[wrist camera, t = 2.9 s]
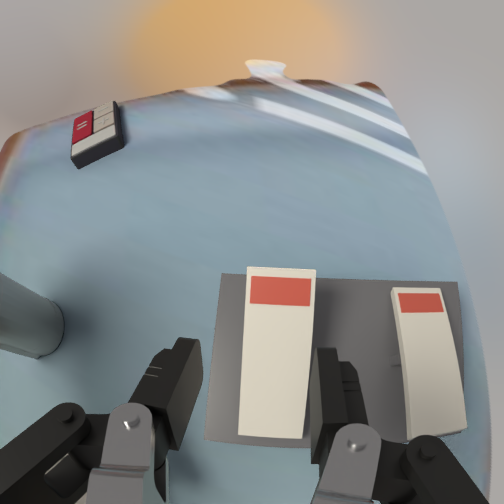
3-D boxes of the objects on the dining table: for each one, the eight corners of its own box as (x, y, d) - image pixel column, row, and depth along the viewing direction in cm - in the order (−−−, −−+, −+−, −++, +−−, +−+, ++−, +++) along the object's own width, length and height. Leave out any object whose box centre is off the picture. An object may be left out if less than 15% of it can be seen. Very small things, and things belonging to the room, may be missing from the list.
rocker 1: (239, 430, 27) (237, 435, 26) (248, 267, 29) (247, 266, 27) (301, 434, 26) (302, 439, 25) (314, 270, 28) (316, 269, 27)
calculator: (114, 97, 59) (116, 132, 52) (120, 111, 63) (124, 148, 56) (72, 118, 58) (68, 157, 51) (80, 131, 62) (78, 170, 55)
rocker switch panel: (218, 430, 34) (198, 443, 25) (231, 294, 41) (218, 265, 32) (430, 427, 31) (471, 433, 22) (430, 301, 39) (466, 274, 29)
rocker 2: (407, 440, 21) (412, 438, 20) (390, 292, 31) (393, 286, 31) (461, 430, 20) (467, 427, 19) (436, 293, 31) (440, 287, 30)
